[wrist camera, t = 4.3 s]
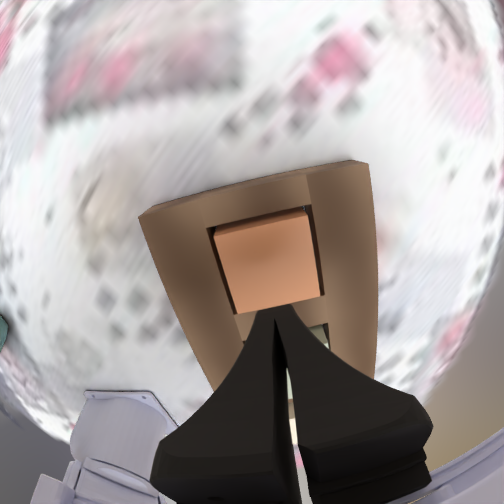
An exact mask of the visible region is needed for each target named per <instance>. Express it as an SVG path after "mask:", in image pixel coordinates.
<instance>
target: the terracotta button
mask: <svg viewBox="0 0 504 504" xmlns="http://www.w3.org/2000/svg"><path fill="white" fill-rule="evenodd" d="M214 240H215V243H216V247H217V250H218V253H219V256H220V260H221V263H222V266H223V269H224V273H225V276H226V279H227V282H228V285H229V288H230V292H231V295H232V298H233V301H234V304H235V307H236V310H237V313H238V314H241V313H246V312H251V311H256V310H261V309H266V308H270V307H275V306H280V305H284V304H289V303H293V302H298V301H302V300H307V299H311V298H315V297H319V296H320V290H319V283H318V276H317V269H316V263H315V256H314V250H313V244H312V237H311V232H310V226H309V220H308V215H307V214H306V212H305V211H304V210H303V209H302V207H301V206H299V207H294V208H290V209H285V210H281V211H276V212H272V213H267V214H263V215H259V216H254V217H250V218H246V219H241V220H237V221H233V222H229V223H225V224H220V225H217V228H216V231H215V234H214Z"/></svg>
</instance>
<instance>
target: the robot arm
mask: <svg viewBox="0 0 504 504" xmlns="http://www.w3.org/2000/svg"><path fill="white" fill-rule="evenodd" d="M287 370H288V374H289V377H290V382H291V389H292V397H293V405H294V413H295V423H296V432H297V443H298V447H299V451H300V454H301V458H302V461H303V465H304V468H305V472H306V475H307V482H308V489H309V495H310V497H311V500H312V503H313V504H408V503H410V502H412V501H415V500H417V499H419V498H421V499H420V500H418V501H416V502H414V503H412V504H504V427H503V428H502V429H501V430H499V431H498V432H497V433H495V434H494V435H492V436H491V437H489V438H488V439H486V440H485V441H484V442H482V443H480V444H479V445H477V446H476V447H474V448H473V449H471V450H469V451H468V452H466V453H464V454H463V455H461V456H459V457H457V458H456V459H454V460H452V461H450V462H449V463H447V464H445V465H443V466H441V467H439V468H437V469H435V470H433V471H431V472H429V471H428V469H427V466H426V464H425V460H426V458H427V457H426V454H425V452H424V449H423V446H424V445H425V443H426V441H427V440H428V438H429V436H430V434H431V432H432V429H433V424H432V421H431V419H430V417H429V415H428V414H427V412H426V410H425V409H424V408H423V406H422V405H421V404H420V402H419V401H418V400H417V399H416V397H415V396H413V395H410V394H407V393H405V392H402V391H399V390H396V389H394V388H391V387H389V386H387V385H384V384H382V383H380V382H378V381H376V380H374V379H372V378H371V377H369V376H367V375H365V374H364V373H362V372H360V371H358V370H357V369H355V368H353V367H352V366H351V365H349V364H348V363H346V362H345V361H343V360H342V359H341V358H339V357H338V356H337V355H336V354H334V353H333V352H332V351H331V350H330V349H328V348H327V347H326V346H325V345H324V344H323V343H322V342H321V341H320V340H319V339H318V338H317V337H316V336H315V335H314V334H313V333H312V332H311V331H310V330H309V328H308V327H307V326H306V325H305V324H304V323H303V321H302V320H301V319H300V317H299V316H298V314H297V313H296V311H295V310H294V308H293V306H292V305H291V304H286V305H281V306H277V307H272V308H267V309H263V310H258V311H257V312H256V315H255V318H254V321H253V324H252V327H251V330H250V332H249V335H248V337H247V339H246V341H245V344H244V346H243V348H242V350H241V352H240V354H239V356H238V357H237V359H236V361H235V363H234V365H233V366H232V368H231V370H230V371H229V373H228V374H227V376H226V377H225V378H224V380H223V381H222V383H221V384H220V385H219V387H218V388H217V389H216V390H215V392H214V393H213V394H212V395H211V397H210V398H209V399H208V400H207V401H206V402H205V403H204V404H203V405H202V406H201V407H200V408H199V409H198V410H197V411H196V412H195V413H194V414H193V415H192V416H191V417H190V418H189V419H188V420H187V421H186V422H184V423H183V424H182V425H181V426H179V427H178V426H177V425H176V424H175V423H174V422H173V420H172V419H171V418H170V417H169V415H168V414H167V413H166V411H165V410H164V409H163V408H162V406H161V405H160V404H159V402H158V401H157V400H156V398H155V397H154V395H153V394H152V393H150V392H98V391H85V392H84V395H85V397H86V398H87V401H86V403H85V405H84V407H83V409H82V411H81V414H80V416H79V418H78V420H77V422H76V425H75V427H74V429H73V431H72V434H71V438H70V449H71V453H72V455H73V457H74V459H75V461H71V462H70V463H69V466H68V468H67V471H66V474H65V477H64V479H63V482H61V481H59V480H56V479H54V478H51V477H49V476H47V475H45V474H41V475H40V478H39V480H38V484H37V486H36V489H35V491H34V494H33V497H32V500H31V503H30V504H167V502H166V501H165V499H164V497H163V496H162V495H159V492H161V493H162V494H164V495H165V496H167V497H168V498H170V499H172V500H174V501H175V502H177V504H302V500H301V494H300V488H299V481H298V475H297V468H296V462H295V455H294V449H293V442H292V435H291V428H290V421H289V405H288V384H287ZM165 434H169V435H168V436H166V437H165ZM164 437H165V438H164ZM430 493H431V494H430ZM428 494H429V495H428ZM426 495H427V496H426ZM424 496H425V497H424ZM422 497H423V498H422Z"/></svg>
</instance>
